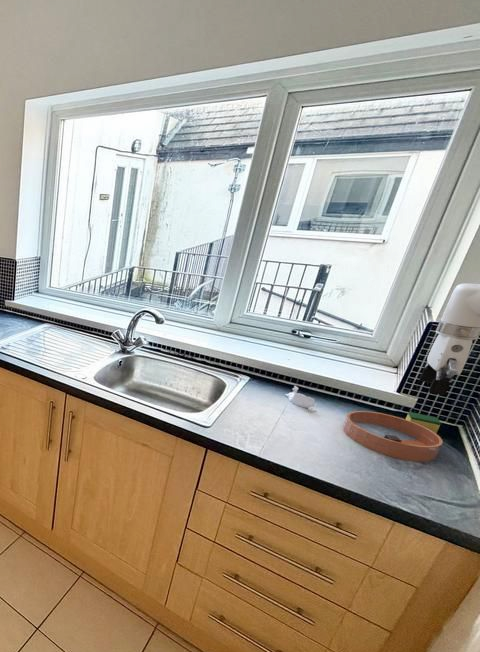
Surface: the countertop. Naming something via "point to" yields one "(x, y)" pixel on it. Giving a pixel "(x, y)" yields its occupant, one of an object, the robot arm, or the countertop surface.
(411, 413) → the sponge
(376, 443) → the terracotta oval ring
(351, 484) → the countertop surface
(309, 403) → the wrapped candy
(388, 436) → the crumb
